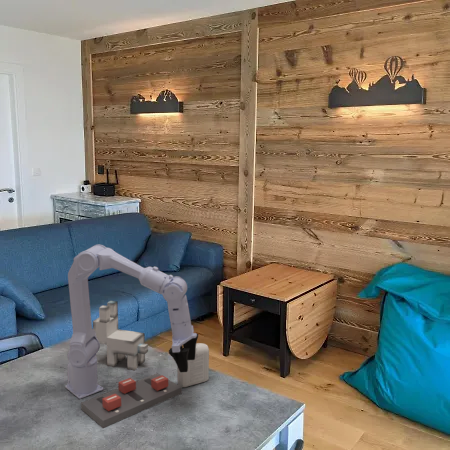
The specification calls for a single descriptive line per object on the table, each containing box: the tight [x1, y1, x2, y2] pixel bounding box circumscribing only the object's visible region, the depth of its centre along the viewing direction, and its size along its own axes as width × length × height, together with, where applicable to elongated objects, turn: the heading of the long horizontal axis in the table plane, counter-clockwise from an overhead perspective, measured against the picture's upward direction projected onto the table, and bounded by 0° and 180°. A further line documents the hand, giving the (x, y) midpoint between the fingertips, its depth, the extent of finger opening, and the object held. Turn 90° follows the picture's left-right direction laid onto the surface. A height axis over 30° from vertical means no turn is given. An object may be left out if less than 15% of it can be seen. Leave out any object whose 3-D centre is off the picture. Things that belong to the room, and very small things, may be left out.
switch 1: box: [102, 394, 121, 411], centre depth 132 cm, size 3×4×2 cm
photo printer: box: [176, 342, 210, 388], centre depth 150 cm, size 10×4×12 cm, turn 123°
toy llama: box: [92, 300, 149, 372], centre depth 161 cm, size 8×18×20 cm, turn 72°
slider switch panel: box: [80, 372, 183, 429], centre depth 139 cm, size 12×26×2 cm, turn 134°
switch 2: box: [117, 377, 136, 394], centre depth 141 cm, size 3×4×2 cm
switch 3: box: [151, 374, 169, 391], centre depth 143 cm, size 3×4×2 cm
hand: (187, 365), depth 139 cm, fingers open, 7 cm apart
